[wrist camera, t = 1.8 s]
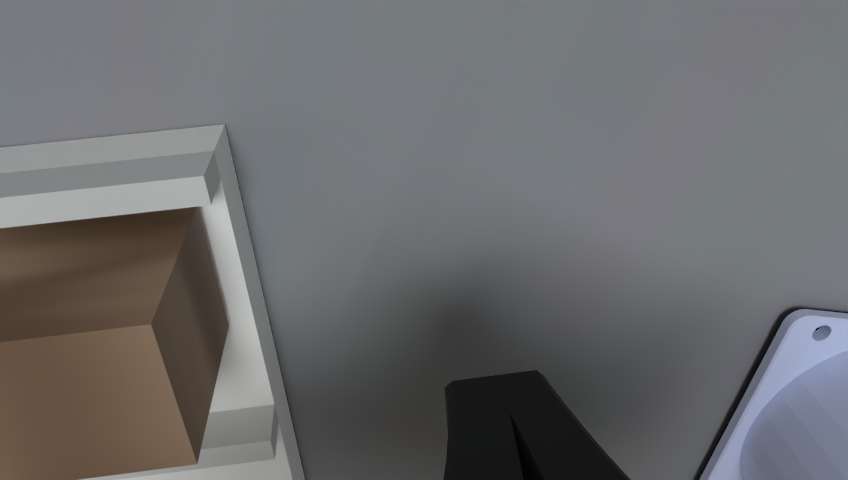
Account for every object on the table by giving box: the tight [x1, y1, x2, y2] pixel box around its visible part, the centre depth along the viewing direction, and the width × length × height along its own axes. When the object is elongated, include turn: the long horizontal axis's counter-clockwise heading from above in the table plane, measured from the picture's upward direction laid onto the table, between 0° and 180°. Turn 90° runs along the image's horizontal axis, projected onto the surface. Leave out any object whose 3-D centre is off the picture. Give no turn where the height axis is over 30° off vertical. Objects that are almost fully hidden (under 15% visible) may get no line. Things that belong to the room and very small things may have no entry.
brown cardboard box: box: [0, 207, 229, 480], centre depth 13 cm, size 4×3×4 cm
